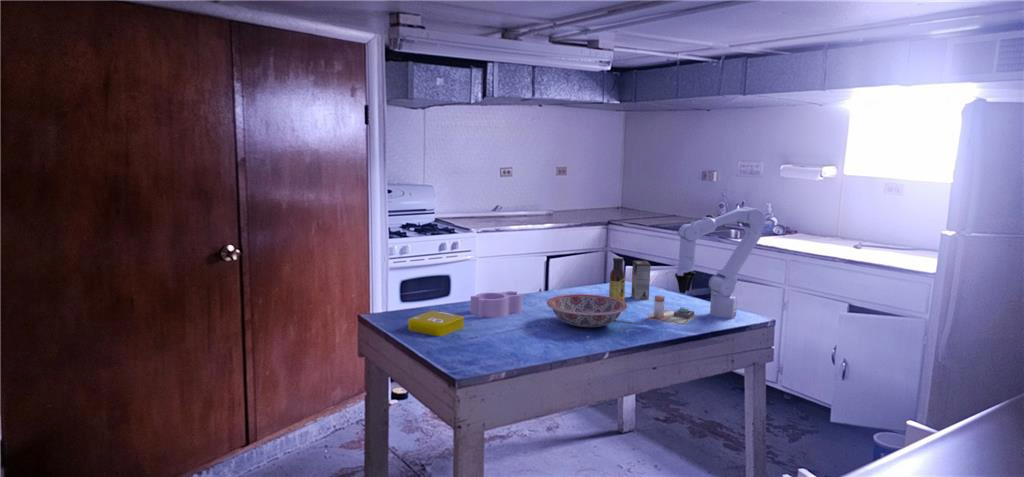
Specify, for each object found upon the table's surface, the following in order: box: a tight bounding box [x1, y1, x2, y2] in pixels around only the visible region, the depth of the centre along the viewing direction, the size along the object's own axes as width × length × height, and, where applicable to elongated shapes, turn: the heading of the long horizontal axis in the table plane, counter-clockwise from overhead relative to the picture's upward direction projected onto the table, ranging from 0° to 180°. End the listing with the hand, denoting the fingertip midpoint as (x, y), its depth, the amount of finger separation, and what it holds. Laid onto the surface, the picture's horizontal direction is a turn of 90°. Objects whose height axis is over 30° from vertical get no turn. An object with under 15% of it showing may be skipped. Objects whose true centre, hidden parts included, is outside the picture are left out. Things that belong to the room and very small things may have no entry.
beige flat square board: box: [645, 309, 698, 326], centre depth 250 cm, size 15×16×1 cm
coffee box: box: [630, 260, 652, 301], centre depth 280 cm, size 9×6×16 cm
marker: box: [653, 294, 665, 319], centre depth 248 cm, size 4×4×8 cm
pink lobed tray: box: [470, 290, 523, 319], centre depth 255 cm, size 20×12×7 cm, turn 122°
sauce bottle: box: [608, 256, 626, 302], centre depth 268 cm, size 7×6×20 cm
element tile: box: [407, 310, 465, 337], centre depth 233 cm, size 15×15×5 cm
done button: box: [679, 306, 690, 314], centre depth 251 cm, size 3×3×2 cm
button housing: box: [674, 308, 695, 319], centre depth 251 cm, size 6×6×2 cm
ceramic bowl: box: [546, 293, 628, 328], centre depth 240 cm, size 29×29×8 cm
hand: (684, 291), depth 250 cm, fingers open, 4 cm apart
